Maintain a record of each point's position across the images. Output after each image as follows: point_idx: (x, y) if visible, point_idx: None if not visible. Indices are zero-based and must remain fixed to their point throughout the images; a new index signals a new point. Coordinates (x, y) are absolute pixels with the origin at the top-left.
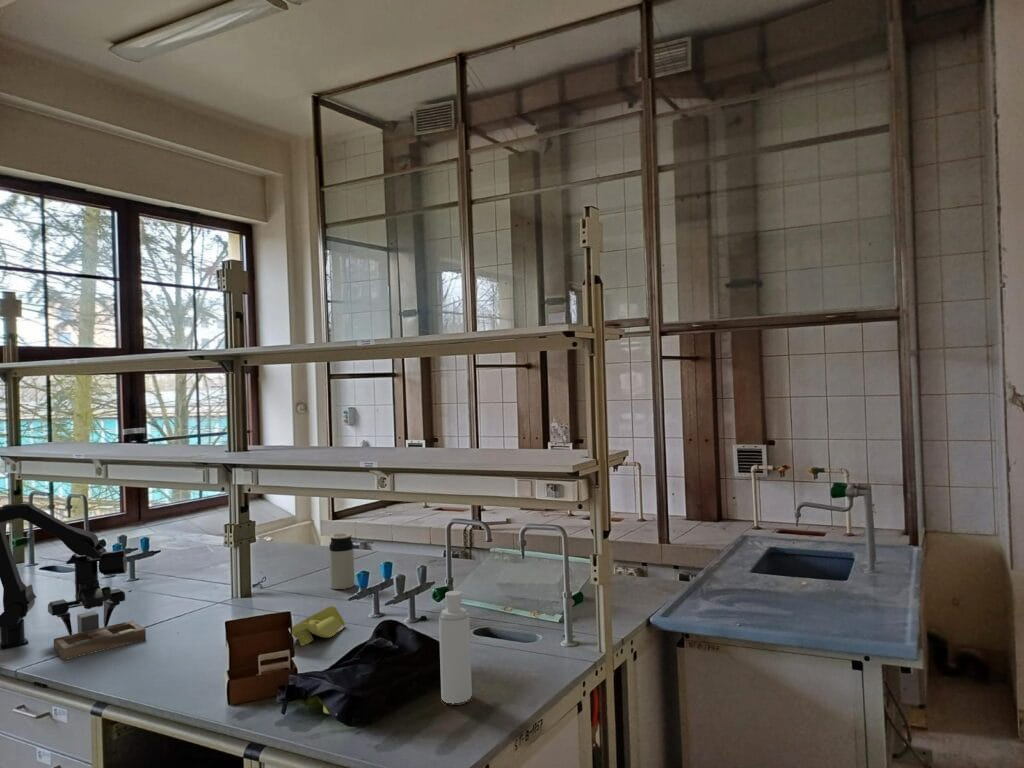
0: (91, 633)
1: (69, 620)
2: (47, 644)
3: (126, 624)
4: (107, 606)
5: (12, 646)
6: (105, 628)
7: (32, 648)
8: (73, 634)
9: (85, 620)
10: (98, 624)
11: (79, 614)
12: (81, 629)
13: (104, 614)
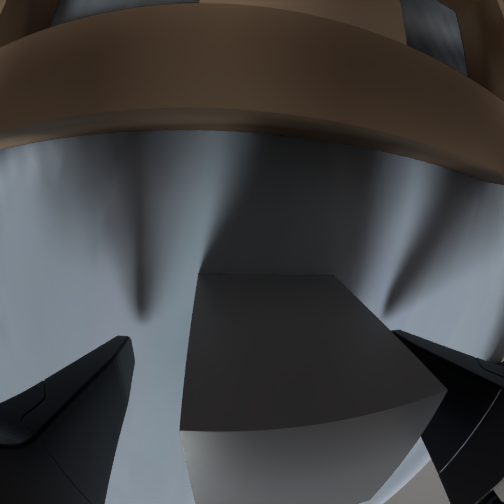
0: (376, 12)
1: (496, 379)
2: (463, 315)
3: (4, 46)
4: (22, 494)
5: (500, 363)
6: (195, 35)
7: (499, 301)
8: (482, 157)
9: (378, 368)
10: (195, 321)
11: (360, 497)
12: (368, 315)
13: (103, 451)
